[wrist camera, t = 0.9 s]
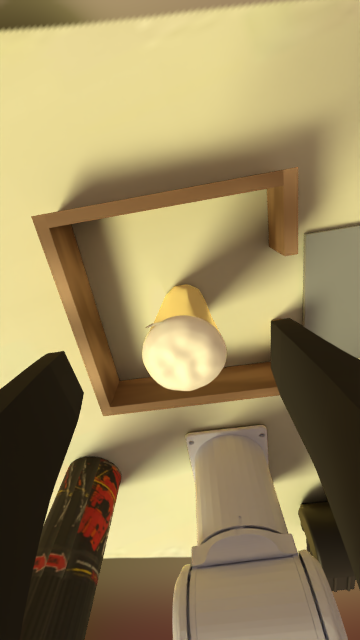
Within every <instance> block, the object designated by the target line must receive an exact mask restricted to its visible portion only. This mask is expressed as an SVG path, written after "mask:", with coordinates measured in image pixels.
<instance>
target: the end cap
mask: <svg viewBox="0 0 360 640" xmlns="http://www.w3.org/2000/svg"><path fill="white" fill-rule="evenodd" d="M298 515H299V518H300V521H301V527H302V530H303V531H304V532H305V535H306V543H307V551H308V552H310V555H312V556H313V557H314V558H315V559H317V560H318V562H319V563H320V565H321V567H322V569H323V571H324V574H325V576H326V578H327V581H328V583H329V586H330V588H331V591H334V592H337V590H348V591H350V589H354V586H355V580H356V577H355V575H354V572H353V569H352V566H351V563H350V560H349V557H348V554H347V551H346V549H345V546H344V543H343V540H342V537H341V535H340V532H339V529H338V526H337V524H336V521H335V518H334V515H333V513H332V510H331V507H330V504H329V502H320V503H311V504H302V505H301V506H300V508H299V511H298Z"/></svg>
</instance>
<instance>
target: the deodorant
mask: <svg viewBox="0 0 360 640" xmlns="http://www.w3.org/2000/svg"><path fill="white" fill-rule="evenodd" d="M120 481H121V474H120V471H119V470H118V468H117V467H116V466H115V465H114V464H113V463H111V462H109V461H108V460H105V459H102V458H98V457H83V458H79V459H77V460H75V461H74V462H73V463H71V464H70V466H69V468H68V470H67V472H66V475H65V477H64V479H63V482H62V484H61V486H60V489H59V491H58V493H57V496H56V498H55V500H54V503H53V505H52V507H51V509H50V512H49V514H48V516H47V519H46V521H45V523H44V526H43V529H42V533H41V537H40V542H39V546H38V550H37V555H36V559H35V564H34V568H33V572H32V577H31V582H30V587H29V592H28V597H27V602H26V608H25V613H24V618H23V623H22V629H21V635H20V640H84V639H85V634H86V630H87V625H88V621H89V617H90V612H91V608H92V604H93V599H94V595H95V590H96V586H97V581H98V577H99V573H100V569H101V563H102V560H103V555H104V551H105V547H106V542H107V538H108V533H109V529H110V525H111V520H112V516H113V512H114V507H115V503H116V498H117V494H118V490H119V485H120Z"/></svg>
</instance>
